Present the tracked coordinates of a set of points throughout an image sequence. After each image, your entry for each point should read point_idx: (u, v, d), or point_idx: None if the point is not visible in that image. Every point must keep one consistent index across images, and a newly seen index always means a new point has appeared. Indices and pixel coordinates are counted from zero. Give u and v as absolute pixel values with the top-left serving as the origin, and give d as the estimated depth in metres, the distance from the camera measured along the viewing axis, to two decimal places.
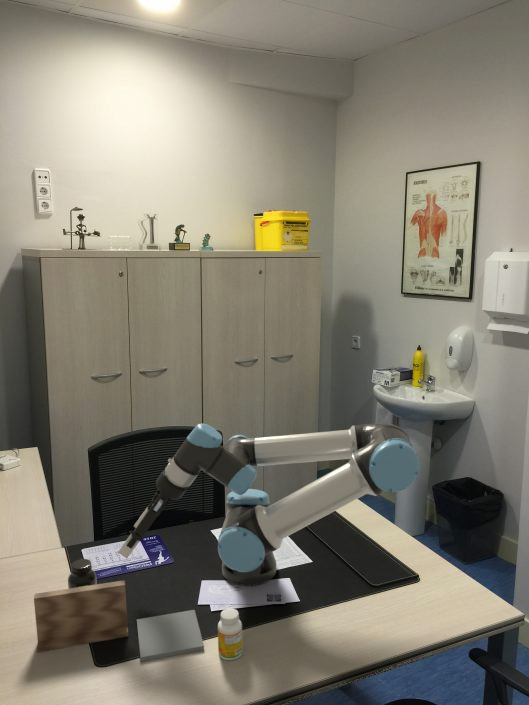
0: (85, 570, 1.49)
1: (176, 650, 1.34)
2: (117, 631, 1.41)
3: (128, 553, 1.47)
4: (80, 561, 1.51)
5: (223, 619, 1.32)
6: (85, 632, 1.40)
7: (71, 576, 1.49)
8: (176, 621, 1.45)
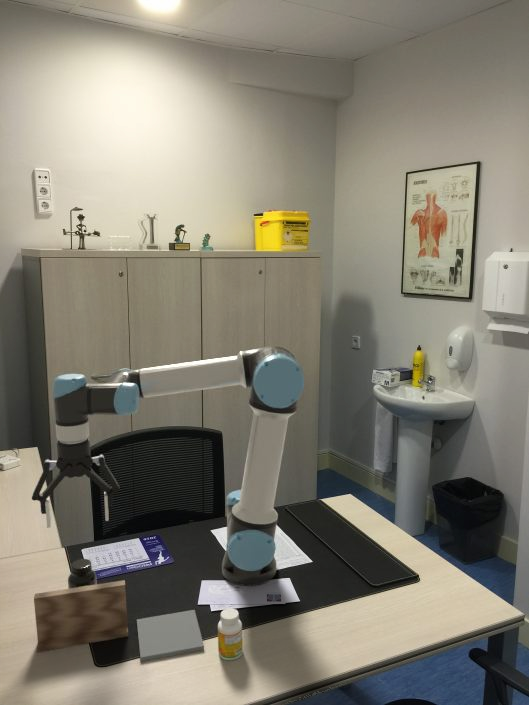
0: (85, 570, 1.49)
1: (176, 650, 1.34)
2: (117, 631, 1.41)
3: None
4: (80, 561, 1.51)
5: (223, 619, 1.32)
6: (85, 632, 1.40)
7: (71, 576, 1.49)
8: (176, 621, 1.45)
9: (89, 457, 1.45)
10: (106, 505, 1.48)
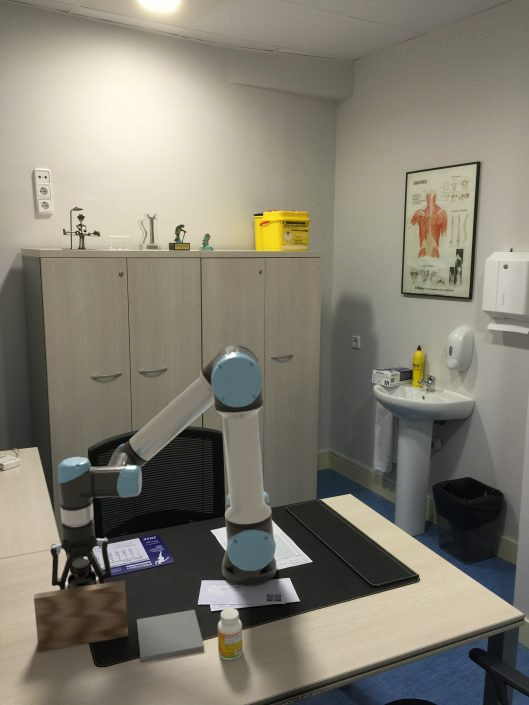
0: (85, 570, 1.49)
1: (176, 650, 1.34)
2: (117, 631, 1.41)
3: None
4: (80, 561, 1.51)
5: (223, 619, 1.32)
6: (85, 632, 1.40)
7: (71, 576, 1.49)
8: (176, 621, 1.45)
9: (95, 538, 1.49)
10: None
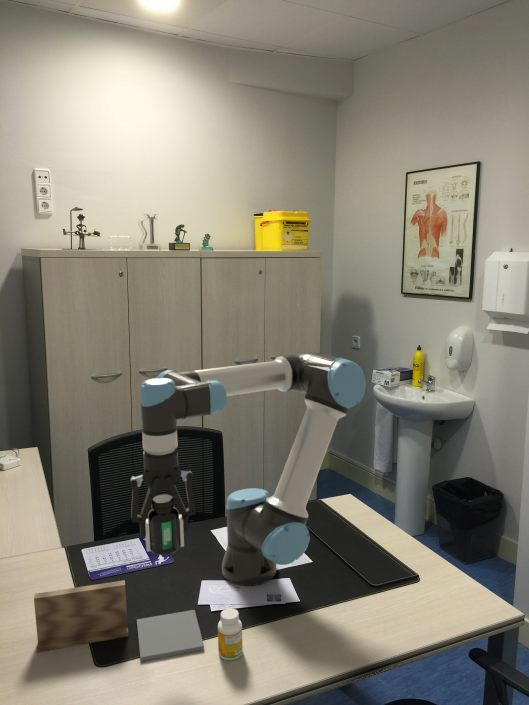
0: (168, 505, 1.33)
1: (176, 650, 1.34)
2: (117, 631, 1.41)
3: (146, 545, 1.35)
4: (161, 496, 1.36)
5: (223, 619, 1.32)
6: (85, 632, 1.40)
7: (152, 512, 1.34)
8: (176, 621, 1.45)
9: (179, 469, 1.33)
10: (181, 529, 1.36)
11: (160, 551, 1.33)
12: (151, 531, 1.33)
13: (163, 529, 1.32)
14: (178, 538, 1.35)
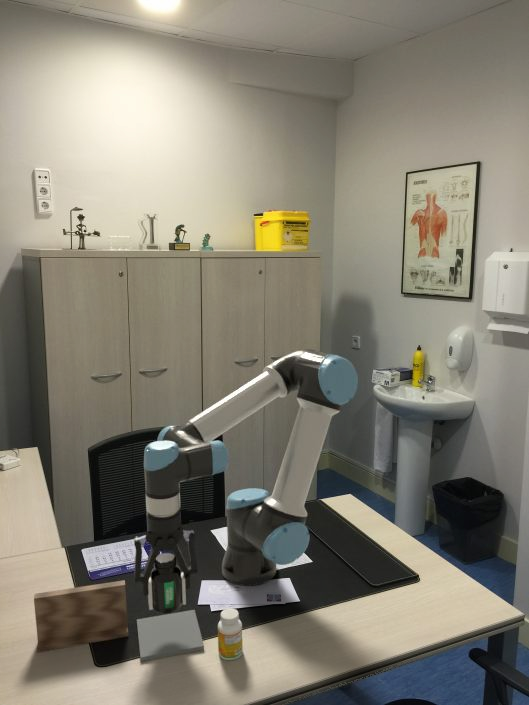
0: (171, 565, 1.36)
1: (176, 650, 1.34)
2: (117, 631, 1.41)
3: (149, 603, 1.37)
4: (164, 555, 1.38)
5: (223, 619, 1.32)
6: (85, 632, 1.40)
7: (155, 571, 1.36)
8: (176, 621, 1.45)
9: (182, 530, 1.36)
10: (183, 588, 1.38)
11: (162, 610, 1.36)
12: (153, 590, 1.36)
13: (166, 588, 1.35)
14: (180, 596, 1.38)
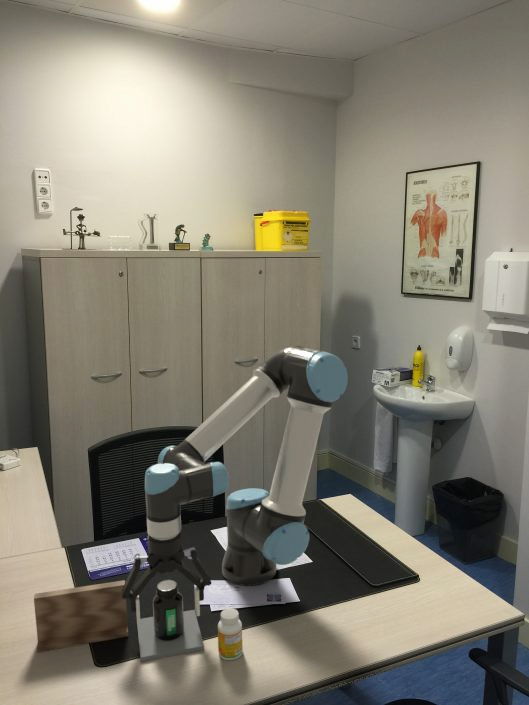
0: (172, 592, 1.37)
1: (176, 650, 1.34)
2: (117, 631, 1.41)
3: None
4: (165, 582, 1.39)
5: (223, 619, 1.32)
6: (85, 632, 1.40)
7: (157, 599, 1.38)
8: None
9: (181, 551, 1.37)
10: (198, 600, 1.40)
11: (164, 637, 1.37)
12: (155, 618, 1.37)
13: (168, 616, 1.36)
14: (182, 623, 1.39)
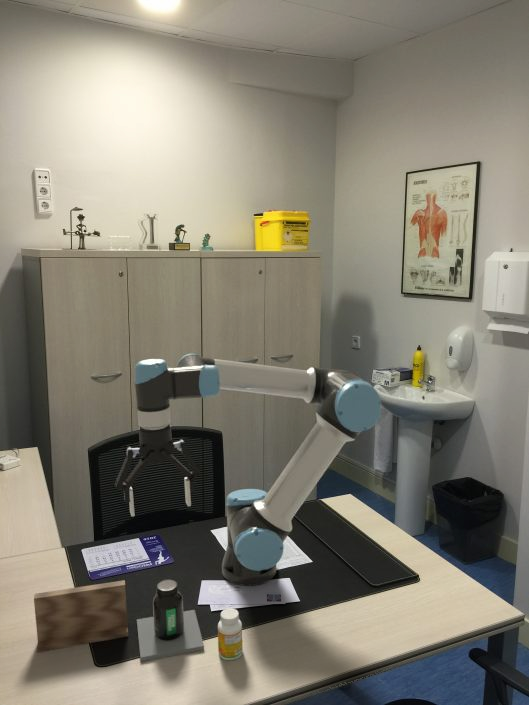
0: (172, 592, 1.37)
1: (176, 650, 1.34)
2: (117, 631, 1.41)
3: (130, 510, 1.43)
4: (165, 582, 1.40)
5: (223, 619, 1.32)
6: (85, 632, 1.40)
7: (157, 598, 1.38)
8: None
9: (171, 442, 1.44)
10: (188, 490, 1.47)
11: (164, 637, 1.37)
12: (156, 617, 1.37)
13: (168, 616, 1.36)
14: (182, 623, 1.39)
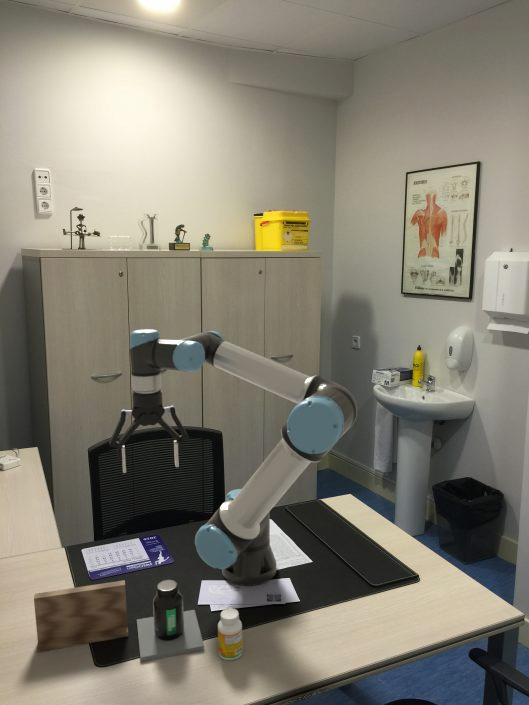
0: (173, 592, 1.37)
1: (176, 650, 1.34)
2: (117, 631, 1.41)
3: None
4: (166, 582, 1.40)
5: (223, 619, 1.32)
6: (85, 632, 1.40)
7: (157, 599, 1.38)
8: None
9: (161, 407, 1.56)
10: (176, 452, 1.59)
11: (165, 637, 1.37)
12: (156, 618, 1.37)
13: (168, 616, 1.36)
14: (182, 623, 1.39)
